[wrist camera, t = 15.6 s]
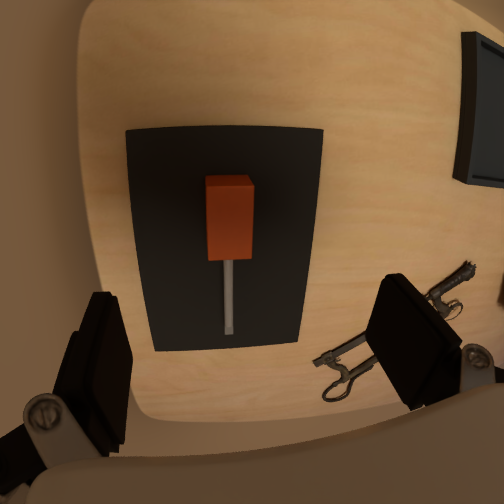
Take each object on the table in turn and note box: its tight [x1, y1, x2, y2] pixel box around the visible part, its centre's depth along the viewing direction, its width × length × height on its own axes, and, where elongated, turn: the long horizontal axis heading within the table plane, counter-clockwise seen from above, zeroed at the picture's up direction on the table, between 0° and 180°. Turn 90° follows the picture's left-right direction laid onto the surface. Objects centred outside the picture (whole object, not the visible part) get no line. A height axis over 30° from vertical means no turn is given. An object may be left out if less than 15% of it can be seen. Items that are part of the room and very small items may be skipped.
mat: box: [126, 125, 324, 351], centre depth 25 cm, size 20×14×1 cm
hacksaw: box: [313, 263, 477, 402], centre depth 33 cm, size 24×10×2 cm, turn 120°
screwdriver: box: [205, 175, 254, 335], centre depth 24 cm, size 13×3×3 cm, turn 178°
